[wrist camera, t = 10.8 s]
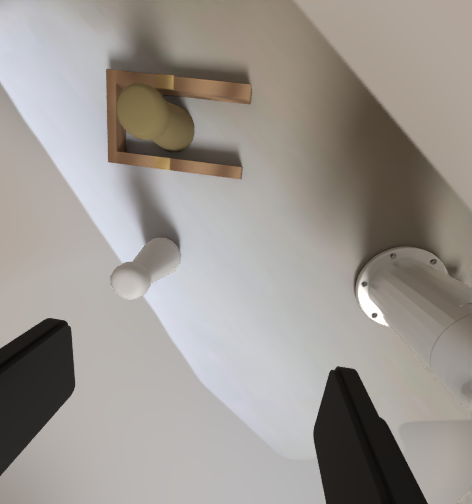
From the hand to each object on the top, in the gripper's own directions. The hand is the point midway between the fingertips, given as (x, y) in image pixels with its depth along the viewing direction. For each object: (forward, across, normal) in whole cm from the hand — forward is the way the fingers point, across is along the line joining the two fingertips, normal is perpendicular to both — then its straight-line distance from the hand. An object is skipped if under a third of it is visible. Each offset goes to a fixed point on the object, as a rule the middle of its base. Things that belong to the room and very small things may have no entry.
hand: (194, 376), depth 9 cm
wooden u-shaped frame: (+30, +10, -12) cm, 34 cm away
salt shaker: (+31, +12, +6) cm, 33 cm away
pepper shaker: (+31, +12, -12) cm, 35 cm away
